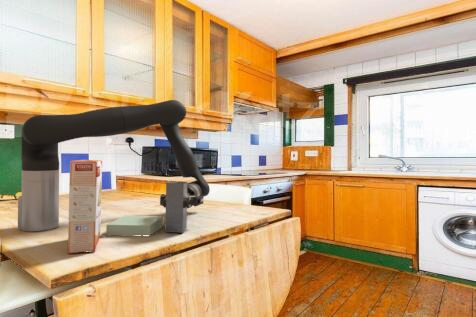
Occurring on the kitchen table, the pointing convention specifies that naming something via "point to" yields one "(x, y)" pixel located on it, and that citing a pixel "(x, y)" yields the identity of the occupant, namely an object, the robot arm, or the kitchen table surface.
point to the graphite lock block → (176, 206)
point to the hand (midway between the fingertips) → (174, 204)
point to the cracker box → (84, 205)
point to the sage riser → (134, 225)
